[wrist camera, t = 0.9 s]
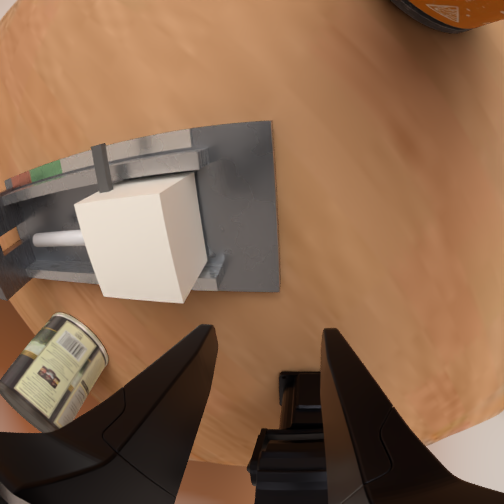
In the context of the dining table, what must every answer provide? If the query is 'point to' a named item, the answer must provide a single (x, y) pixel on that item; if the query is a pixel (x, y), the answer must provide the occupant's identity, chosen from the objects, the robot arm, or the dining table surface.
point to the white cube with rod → (139, 234)
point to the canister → (453, 13)
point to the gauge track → (148, 165)
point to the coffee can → (54, 373)
